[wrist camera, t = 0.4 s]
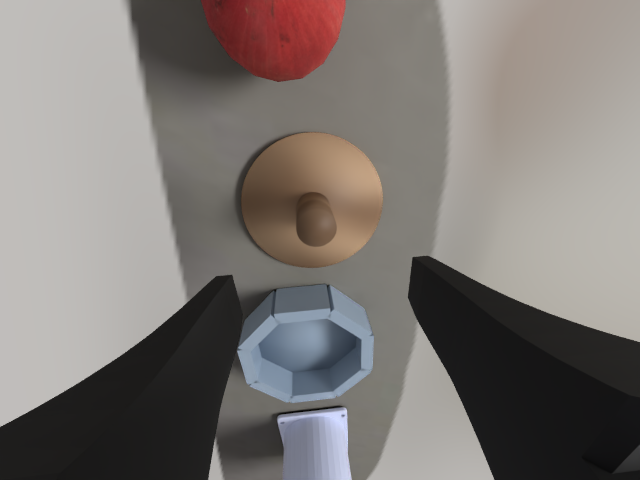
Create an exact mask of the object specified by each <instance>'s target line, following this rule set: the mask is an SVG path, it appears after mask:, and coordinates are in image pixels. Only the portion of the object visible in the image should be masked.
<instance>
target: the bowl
mask: <svg viewBox="0 0 640 480" xmlns="http://www.w3.org/2000/svg"><path fill="white" fill-rule="evenodd" d="M373 343H374V335H373V332H372V329H371V326H370V323H369V320H368V317H367V314H366V311H365V310H364V308H363V307H362V306H360V305H359V304H357V303H356V302H354V301H353V300H352V299H350V298H349V297H347V296H346V295H344V294H343V293H341V292H340V291H338V290H337V289H335V288H334V287H332V286H331V285H329V286H328V287H327V285H326V284H321V285H311V286H301V287H291V288H281V289H277V291H276V292H275V291H272V292H271V293H270V294H269V295H268V296H267V298H266V299H265V300H264V301H263V302H262V303H261V304H260V305H259V306H258V307H257V308H256V309H255V310H254V311H253V312H252V313H251V314H250V315H249V316H248V317H247V318H246V319H245V321H244V325H243V329H242V333H241V337H240V341H239V345H238V350H237V352H238V355H239V359H240V362H241V365H242V368H243V372H244V375H245V378H246V382H247V384H250V387H252V388H255V389H257V390H259V391H262V392H264V393H266V394H268V395H271V396H273V397H275V398H278V399H280V400H282V401H285V402H287V403H288V402H289V401H291V403H296V402H304V401H313V400H321V399H330V398H336V397H335V395H336V396H338V397H339V396H340V395H342V394H343V393H344V392H345V391H347V390H348V389H349V388H351V387H352V386H353V385H355V384H356V383H357V382H359V381H360V380H361V379H363V378H364V377H365V376H367V375H368V374H369V373H371V371H370V370H372V365H373Z"/></svg>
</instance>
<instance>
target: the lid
mask: <svg viewBox="0 0 640 480" xmlns="http://www.w3.org/2000/svg"><path fill="white" fill-rule="evenodd" d="M382 204H383V193H382V187H381V183H380V179H379V176H378V174H377V172H376V170H375V168H374V166H373V165H372V163H371V162H370V160H369V159H368V158H367V157H366V156H365V154H364V153H363V152H362V151H360V150H359V149H358V148H357V147H356V146H354V145H353V144H351V143H349V142H348V141H346V140H344V139H342V138H340V137H337V136H334V135H331V134H327V133H319V132H306V133H299V134H295V135H291V136H288V137H285V138H283V139H281V140H279V141H277V142H275V143H274V144H272V145H271V146H269V147H268V148H267V149H266V150H265V151H263V152H262V153H261V154H260V156H259V157H258V158H257V159H256V160H255V161H254V163H253V165H252V166H251V168H250V169H249V171H248V173H247V176H246V178H245V181H244V184H243V188H242V195H241V208H242V215H243V218H244V222H245V224H246V227H247V229H248V231H249V233H250V235H251V236H252V238H253V239H254V240H255V242H256V243H257V244H258V245H259V246H260V247H261V248H262V249H263V250H264V251H265V252H266V253H268V254H269V255H270V256H272V257H274V258H275V259H277V260H279V261H281V262H284V263H286V264H289V265H293V266H298V267H305V268H318V267H325V266H329V265H333V264H336V263H338V262H341V261H343V260H345V259H347V258H349V257H350V256H352V255H353V254H355V253H356V252H357V251H358V250H360V249H361V248H362V247H363V246H364V245H365V244H366V243H367V241H368V240H369V239H370V237H371V236H372V235H373V233H374V231H375V229H376V227H377V225H378V222H379V220H380V216H381V212H382Z"/></svg>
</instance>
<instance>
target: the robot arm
mask: <svg viewBox="0 0 640 480" xmlns="http://www.w3.org/2000/svg"><path fill="white" fill-rule="evenodd" d="M408 299H409V301H410V304H411V306H412V309H413V311H414V314H415V316H416V318H417V320H418V322H419V324H420V326H421V327H422V329H423V331H424V333H425V334H426V336H427V338H428V340H429V341H430V343H431V345H432V346H433V348H434V350H435V351H436V353H437V355H438V357H439V358H440V360H441V362H442V363H443V365H444V367H445V369H446V370H447V372H448V374H449V376H450V378H451V380H452V382H453V384H454V386H455V388H456V391H457V393H458V395H459V397H460V399H461V401H462V403H463V406H464V408H465V410H466V412H467V415H468V417H469V419H470V422H471V424H472V426H473V428H474V431H475V433H476V435H477V438H478V440H479V442H480V445H481V448H482V450H483V453H484V455H485V457H486V460H487V462H488V465H489V467H490V470H491V472H492V475H493V477H494V480H640V342H637V341H634V340H630V339H626V338H623V337H619V336H616V335H612V334H609V333H606V332H603V331H599V330H596V329H593V328H590V327H587V326H583V325H581V324H577V323H574V322H571V321H569V320H566V319H563V318H560V317H557V316H555V315H552V314H549V313H546V312H544V311H541V310H539V309H536V308H534V307H531V306H529V305H526V304H524V303H521V302H519V301H517V300H515V299H512V298H510V297H508V296H506V295H504V294H501V293H499V292H497V291H495V290H493V289H491V288H489V287H486V286H485V285H482V284H481V283H479V282H477V281H475V280H473V279H471V278H469V277H467V276H465V275H464V274H462V273H460V272H458V271H456V270H454V269H452V268H451V267H449V266H447V265H445V264H443V263H441V262H439V261H437V260H436V259H434V258H431V257H429V256H420V257H413V259H412V267H411V276H410V284H409V293H408ZM242 316H243V314H242V310H241V306H240V303H239V299H238V295H237V291H236V288H235V284H234V280H233V276H232V275H225V276H216V277H215V278H214V279H213V280H211V281H210V282H209V283H208V284H207V285H206V286H205V287H204V288H203V289H202V290H201V291H199V292H198V293H197V294H196V295H195V296H194V297H193V298H192V299H191V300H190V301H189V302H187V303H186V304H185V305H184V306H183V307H182V308H181V309H180V310H179V311H177V312H176V313H175V314H174V315H173V316H172V317H170V318H169V319H168V320H167V321H166V322H164V323H163V324H162V325H161V326H160V327H158V328H157V329H156V330H155V331H154V332H153V333H151V334H150V335H149V336H147V337H146V338H145V339H143V340H142V341H141V342H139V343H138V344H137V345H135V346H134V347H132V348H131V349H130V350H128V351H127V352H125V353H124V354H123V355H121V356H120V357H118V358H117V359H115V360H114V361H112V362H111V363H109V364H108V365H106V366H105V367H103V368H101V369H100V370H98V371H97V372H95V373H94V374H92V375H91V376H89V377H88V378H86V379H84V380H83V381H81V382H80V383H78V384H76V385H75V386H73V387H71V388H70V389H68V390H66V391H64V392H63V393H61V394H59V395H58V396H56V397H54V398H52V399H51V400H49V401H47V402H45V403H44V404H42V405H40V406H38V407H37V408H35V409H33V410H31V411H29V412H28V413H26V414H24V415H22V416H20V417H18V418H16V419H15V420H13V421H11V422H9V423H7V424H5V425H3V426H1V427H0V480H208V477H209V470H210V464H211V458H212V452H213V445H214V440H215V434H216V429H217V423H218V418H219V412H220V407H221V403H222V399H223V395H224V391H225V388H226V384H227V381H228V377H229V374H230V370H231V367H232V363H233V359H234V356H235V352H236V349H237V345H238V341H239V337H240V330H241V323H242ZM277 422H278V426H279V430H280V434H281V438H282V442H283V446H284V459H283V480H351V473H350V466H349V459H348V452H347V451H348V433H347V410H346V408H344V407H341V408H332V409H324V410H316V411H307V412H299V413H291V414H282V415H279V416H278V417H277Z"/></svg>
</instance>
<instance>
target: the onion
mask: <svg viewBox="0 0 640 480" xmlns="http://www.w3.org/2000/svg"><path fill="white" fill-rule="evenodd" d="M201 2H202V5H203V9H204V12H205V15H206V19H207V22H208V25H209V27H210V29H211V30H212V32H213V33H214V35H215V36H216V37H217V39H218V40H219V42H220V43H221V45H222V46H223V47H224V49H225V50H226V52H227V53H228V55H229V56H230V57H231V58H232V59H233V60H235V61H236V62H237V63H239V64H240V65H241V66H243V67H244V68H245V69H247V70H248V71H249V72H251V73H252V74H253V75H255V76H258V77H262V78H266V79H270V80H273V81H277V82H281V81H288V80H294V79H301V78H303V77H305V76H306V75H308V74H309V73H310V72H312V71H313V70H315V69H316V68H317V67H319V66H320V65H322V64H323V63H324V61H325V60H326V58H327V56H328V55H329V53H330V51H331V50H332V48H333V46H334V45H335V43H336V41H337V40H338V37H339V33H340V28H341V24H342V20H343V16H344V11H345V0H201Z"/></svg>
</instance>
